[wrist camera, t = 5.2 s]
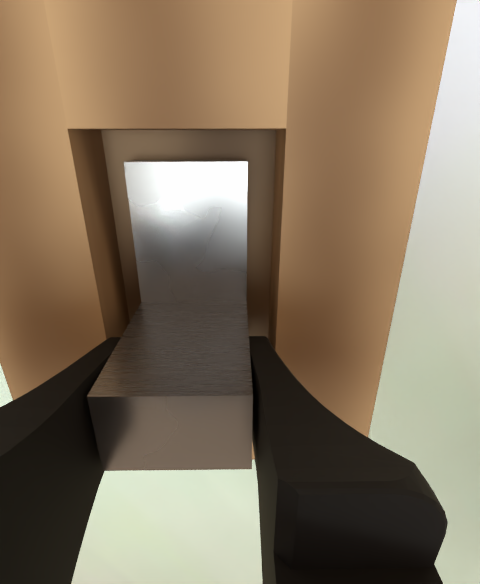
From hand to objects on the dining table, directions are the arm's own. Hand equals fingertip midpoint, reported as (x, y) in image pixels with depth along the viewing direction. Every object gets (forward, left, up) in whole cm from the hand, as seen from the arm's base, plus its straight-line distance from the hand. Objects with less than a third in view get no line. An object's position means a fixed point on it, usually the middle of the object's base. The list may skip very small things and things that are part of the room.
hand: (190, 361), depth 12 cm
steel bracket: (0, -3, -3) cm, 4 cm away
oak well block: (0, -3, -4) cm, 4 cm away
